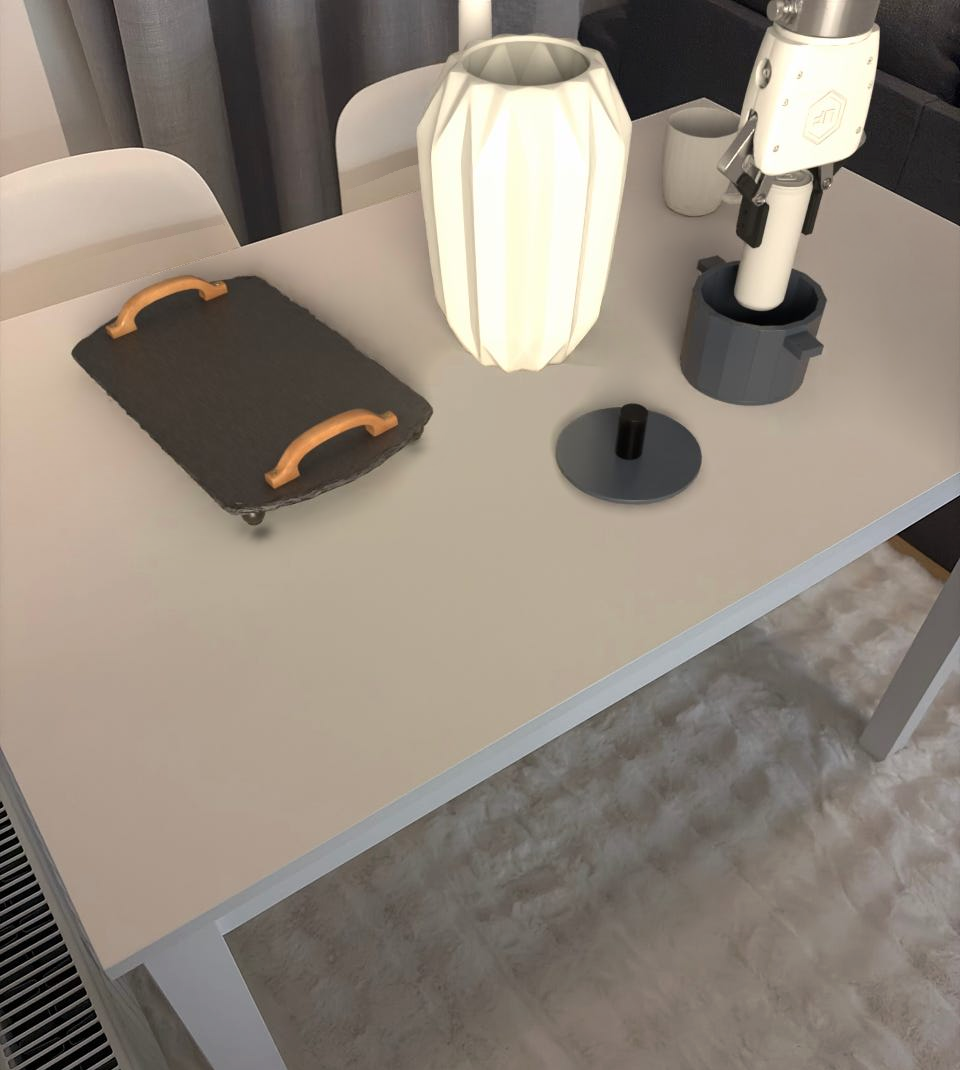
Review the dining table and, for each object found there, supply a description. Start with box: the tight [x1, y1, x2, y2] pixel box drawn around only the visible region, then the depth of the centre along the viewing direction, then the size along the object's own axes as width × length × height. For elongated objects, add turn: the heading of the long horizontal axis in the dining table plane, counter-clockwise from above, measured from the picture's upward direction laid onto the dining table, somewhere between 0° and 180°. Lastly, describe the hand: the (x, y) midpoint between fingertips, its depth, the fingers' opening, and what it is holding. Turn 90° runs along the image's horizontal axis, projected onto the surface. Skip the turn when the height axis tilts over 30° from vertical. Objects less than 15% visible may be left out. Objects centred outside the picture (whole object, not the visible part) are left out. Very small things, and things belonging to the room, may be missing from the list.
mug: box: [661, 106, 761, 217], centre depth 116 cm, size 13×9×10 cm
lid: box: [555, 402, 703, 505], centre depth 87 cm, size 14×14×6 cm
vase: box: [416, 32, 633, 374], centre depth 91 cm, size 20×20×27 cm
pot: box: [679, 254, 828, 406], centre depth 95 cm, size 13×18×8 cm
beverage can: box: [734, 169, 813, 311], centre depth 88 cm, size 5×5×12 cm
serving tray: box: [70, 274, 434, 526], centre depth 94 cm, size 39×23×6 cm, turn 40°
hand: (773, 232), depth 87 cm, fingers closed on beverage can, 4 cm apart
